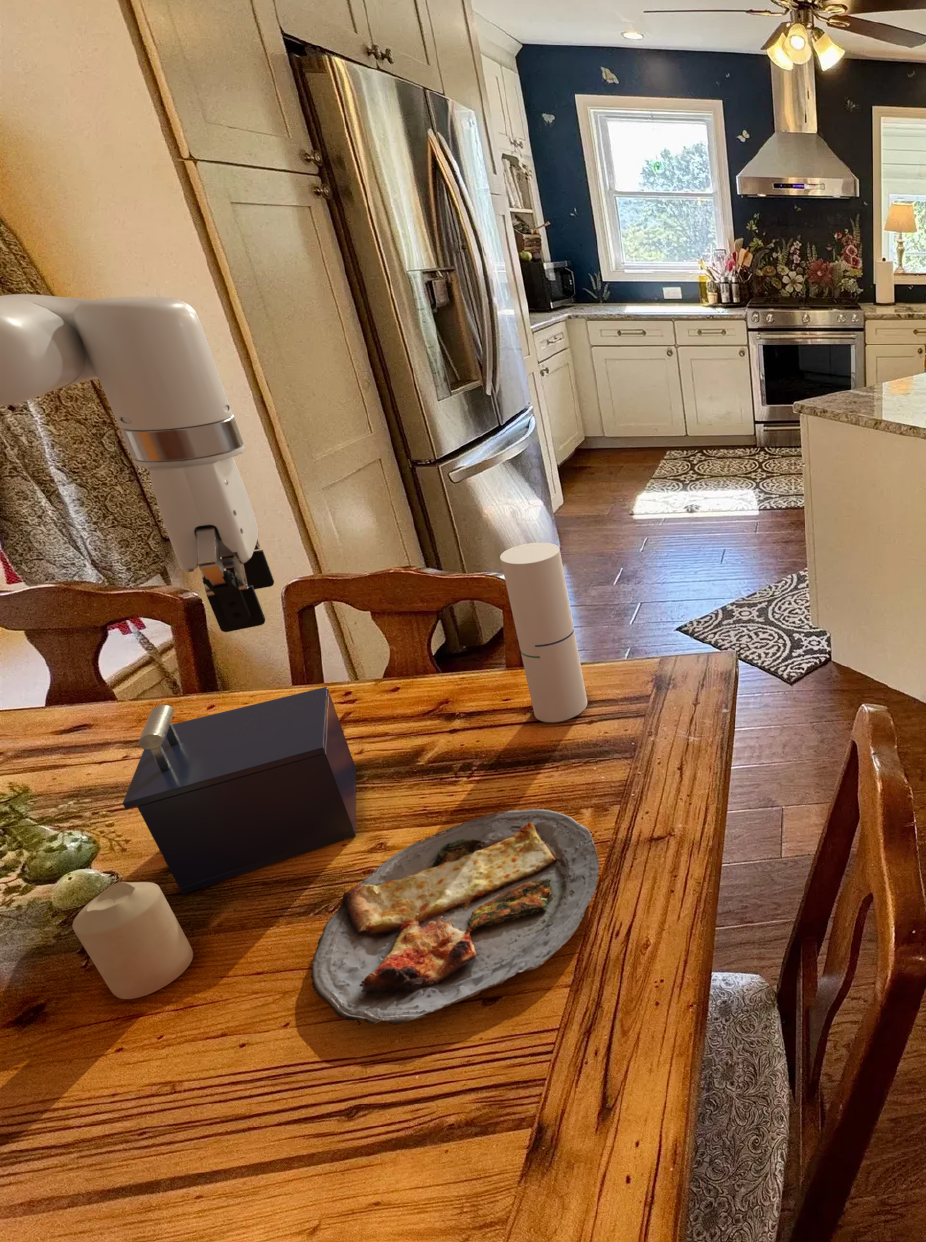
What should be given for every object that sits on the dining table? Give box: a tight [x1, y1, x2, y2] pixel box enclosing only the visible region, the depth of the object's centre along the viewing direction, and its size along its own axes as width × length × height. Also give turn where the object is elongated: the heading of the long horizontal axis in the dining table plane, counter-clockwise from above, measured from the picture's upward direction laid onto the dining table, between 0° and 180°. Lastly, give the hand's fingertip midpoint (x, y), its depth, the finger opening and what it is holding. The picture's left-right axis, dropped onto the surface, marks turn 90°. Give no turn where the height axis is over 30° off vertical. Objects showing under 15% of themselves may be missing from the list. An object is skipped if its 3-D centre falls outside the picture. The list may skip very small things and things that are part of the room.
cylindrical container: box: [499, 541, 588, 723], centre depth 103 cm, size 7×7×25 cm
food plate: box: [310, 808, 601, 1026], centre depth 75 cm, size 25×23×4 cm
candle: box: [71, 881, 194, 1000], centre depth 67 cm, size 6×6×10 cm
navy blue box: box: [137, 692, 357, 895], centre depth 83 cm, size 15×14×12 cm
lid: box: [122, 686, 330, 810], centre depth 80 cm, size 16×14×5 cm
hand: (250, 606), depth 73 cm, fingers open, 9 cm apart
